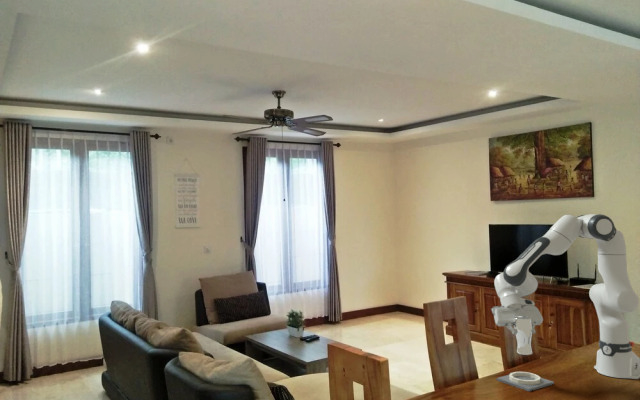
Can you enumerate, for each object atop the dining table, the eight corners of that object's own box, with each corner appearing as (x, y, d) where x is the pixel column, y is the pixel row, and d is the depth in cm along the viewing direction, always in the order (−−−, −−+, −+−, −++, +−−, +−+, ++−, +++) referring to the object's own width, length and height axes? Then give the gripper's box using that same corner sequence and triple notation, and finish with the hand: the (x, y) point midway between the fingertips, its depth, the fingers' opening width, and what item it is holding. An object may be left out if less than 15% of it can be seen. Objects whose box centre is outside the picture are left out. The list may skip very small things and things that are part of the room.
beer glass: (513, 350, 213) (511, 316, 213) (529, 350, 212) (527, 315, 213) (519, 355, 206) (517, 319, 206) (536, 354, 206) (534, 318, 206)
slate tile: (521, 373, 219) (521, 368, 220) (553, 384, 206) (553, 378, 206) (496, 380, 211) (496, 374, 211) (529, 391, 198) (528, 385, 198)
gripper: (492, 302, 216) (502, 330, 206) (537, 301, 217) (549, 328, 207) (488, 310, 220) (498, 338, 210) (532, 309, 222) (544, 336, 212)
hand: (524, 333), depth 209 cm, fingers closed on beer glass, 7 cm apart
